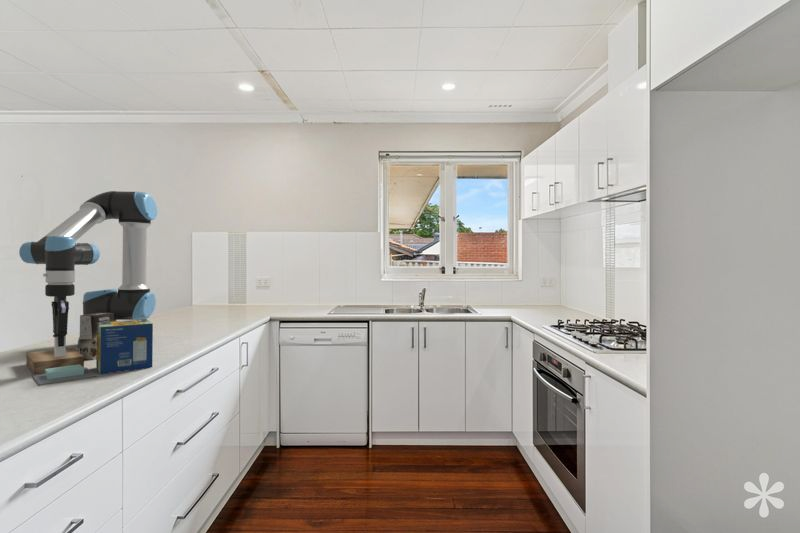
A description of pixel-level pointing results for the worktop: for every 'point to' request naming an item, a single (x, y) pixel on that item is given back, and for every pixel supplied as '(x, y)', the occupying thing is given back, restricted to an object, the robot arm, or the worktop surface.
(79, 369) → the mint green rectangular slab
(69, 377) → the mat
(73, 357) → the brown wooden block
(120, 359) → the protein box
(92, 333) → the coffee box
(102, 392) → the worktop surface
